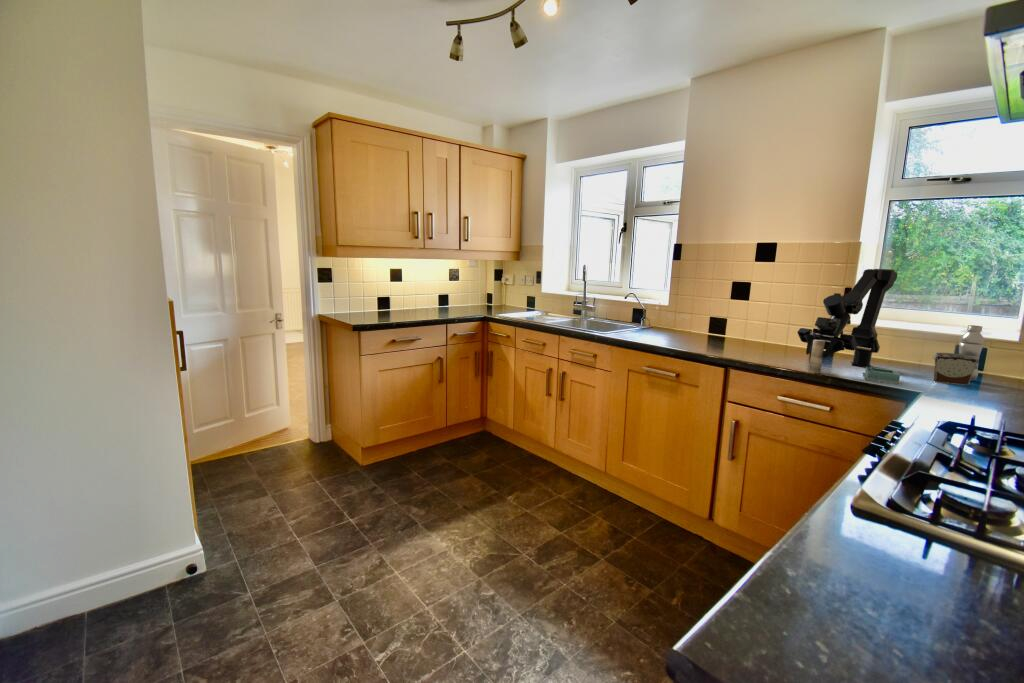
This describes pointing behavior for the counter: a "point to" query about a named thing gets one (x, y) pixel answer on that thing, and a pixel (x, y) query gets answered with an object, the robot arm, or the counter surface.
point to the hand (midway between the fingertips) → (814, 355)
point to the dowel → (816, 356)
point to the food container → (954, 368)
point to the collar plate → (882, 375)
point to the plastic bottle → (972, 345)
